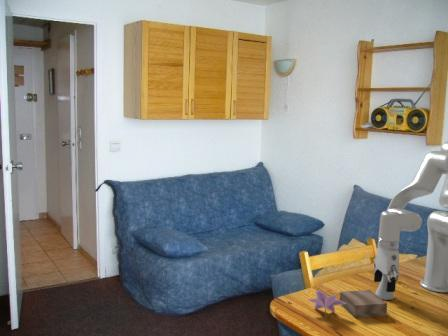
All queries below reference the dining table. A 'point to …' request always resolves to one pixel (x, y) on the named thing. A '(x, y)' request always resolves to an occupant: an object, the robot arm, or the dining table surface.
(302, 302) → the dining table surface
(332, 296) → the lily
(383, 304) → the walnut block
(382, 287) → the flask
